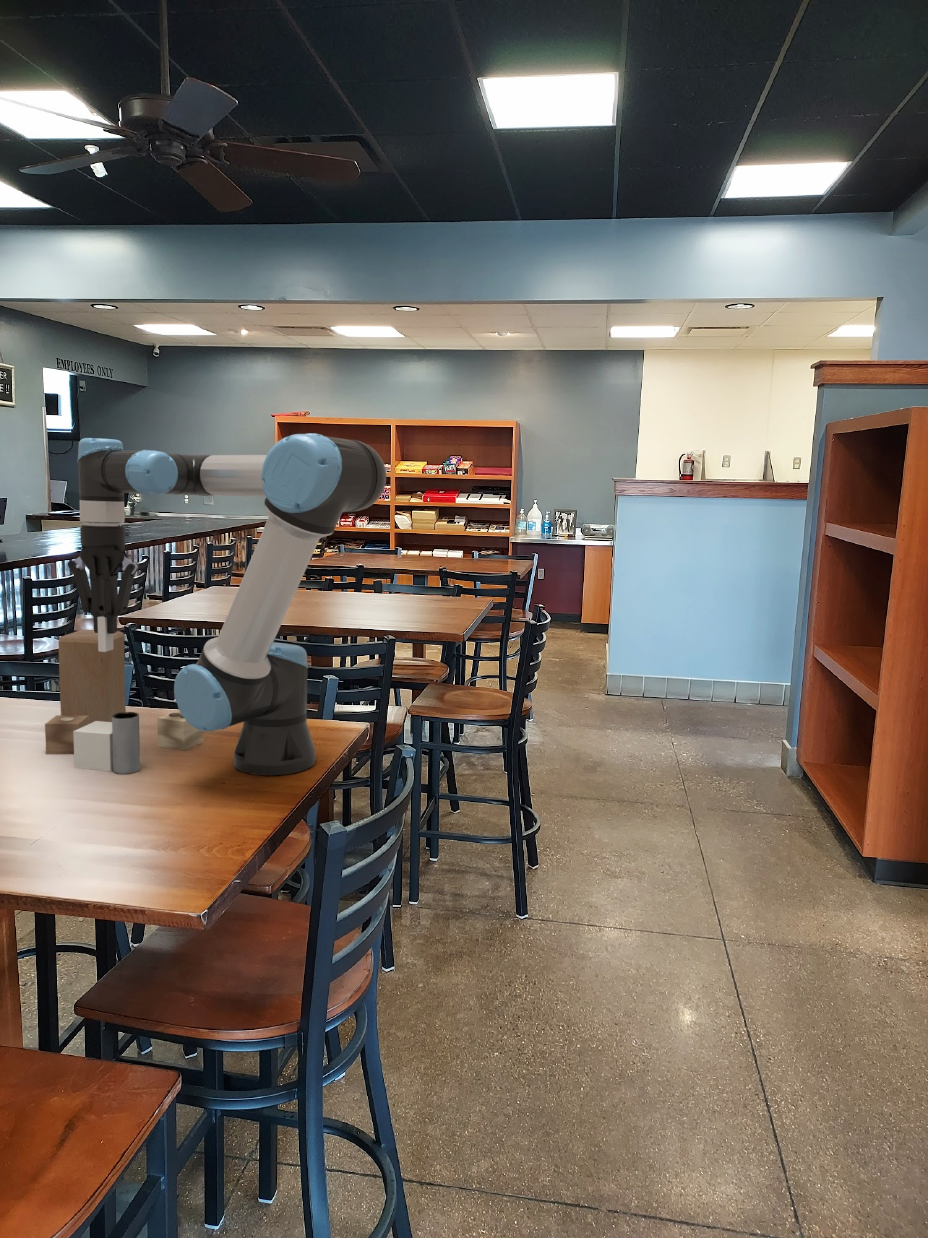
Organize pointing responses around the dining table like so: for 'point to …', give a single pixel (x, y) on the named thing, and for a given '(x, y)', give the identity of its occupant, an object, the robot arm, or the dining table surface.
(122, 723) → the planter
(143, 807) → the dining table surface
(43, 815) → the dining table surface
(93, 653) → the block
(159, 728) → the maple block
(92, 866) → the dining table surface
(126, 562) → the robot arm
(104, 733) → the grey block
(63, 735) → the walnut block
